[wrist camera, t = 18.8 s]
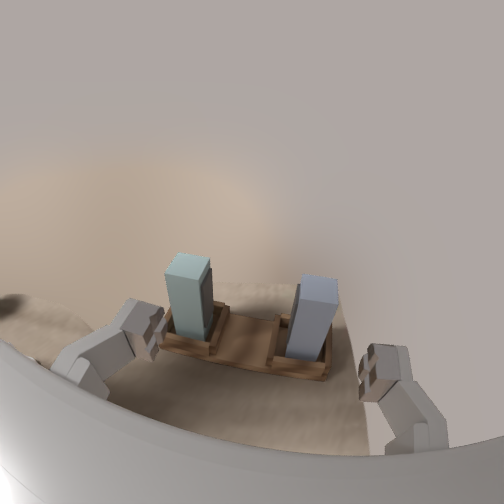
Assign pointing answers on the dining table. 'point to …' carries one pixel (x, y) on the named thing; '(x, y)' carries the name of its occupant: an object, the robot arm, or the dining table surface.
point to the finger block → (311, 316)
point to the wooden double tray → (249, 345)
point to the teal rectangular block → (191, 295)
